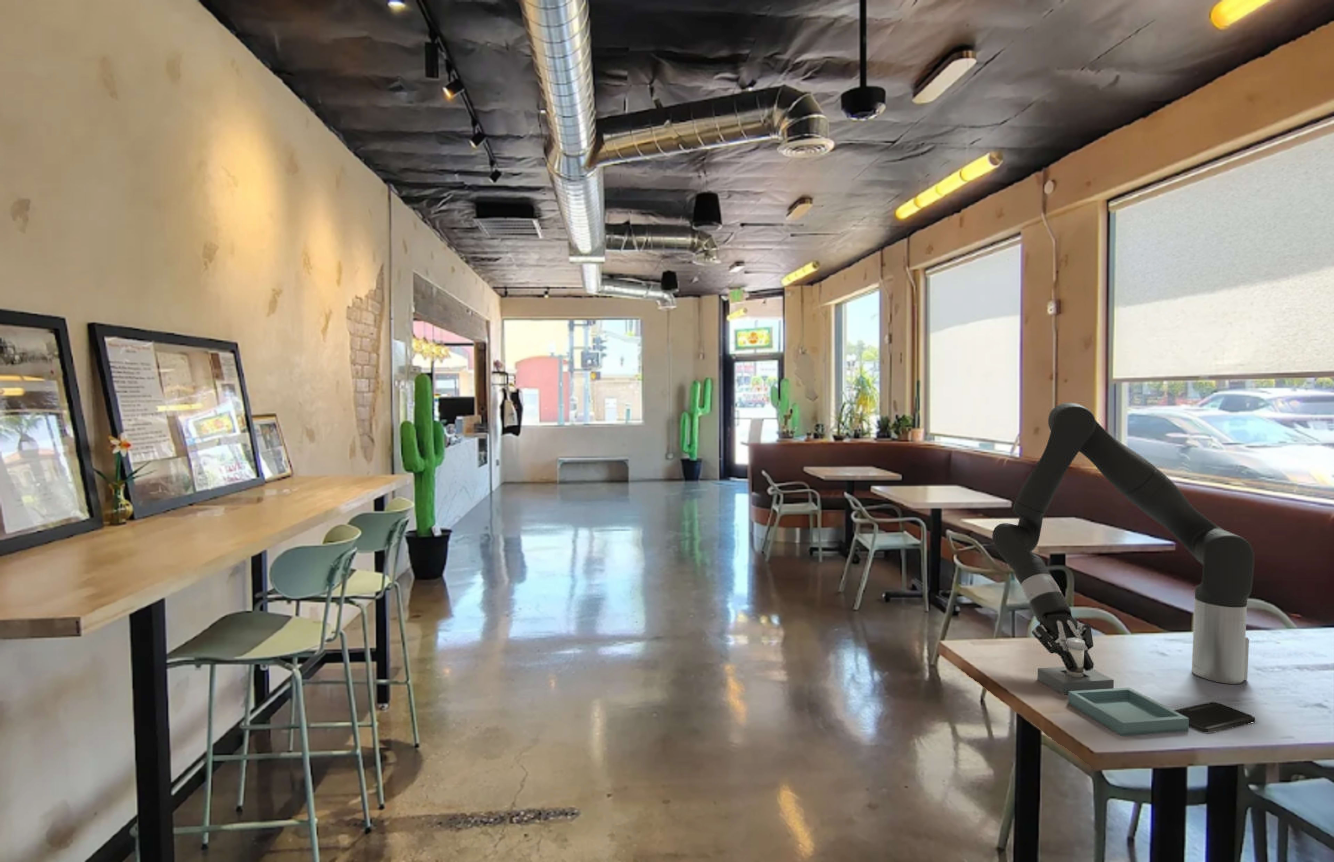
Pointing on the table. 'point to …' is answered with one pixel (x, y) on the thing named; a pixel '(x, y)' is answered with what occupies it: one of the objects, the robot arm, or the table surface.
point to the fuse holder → (1073, 680)
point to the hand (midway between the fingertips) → (1082, 669)
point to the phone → (1214, 717)
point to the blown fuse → (1076, 656)
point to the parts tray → (1128, 711)
